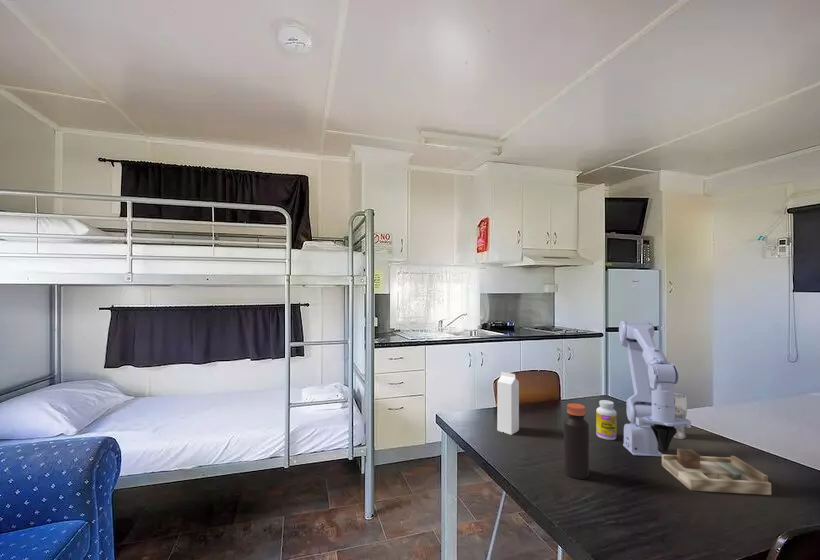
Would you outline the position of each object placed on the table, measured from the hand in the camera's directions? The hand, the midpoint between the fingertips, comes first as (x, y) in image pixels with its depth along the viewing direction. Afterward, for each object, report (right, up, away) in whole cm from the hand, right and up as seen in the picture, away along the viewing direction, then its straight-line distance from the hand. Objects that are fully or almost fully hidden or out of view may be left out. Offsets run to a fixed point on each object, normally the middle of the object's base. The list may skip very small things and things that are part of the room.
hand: (663, 450), depth 112 cm
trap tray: (+12, -7, -4) cm, 14 cm away
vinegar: (-26, -7, -1) cm, 27 cm away
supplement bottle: (-3, -7, +26) cm, 27 cm away
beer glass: (+23, -7, +27) cm, 36 cm away
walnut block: (+7, -4, -1) cm, 8 cm away
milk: (-38, -7, +32) cm, 50 cm away
